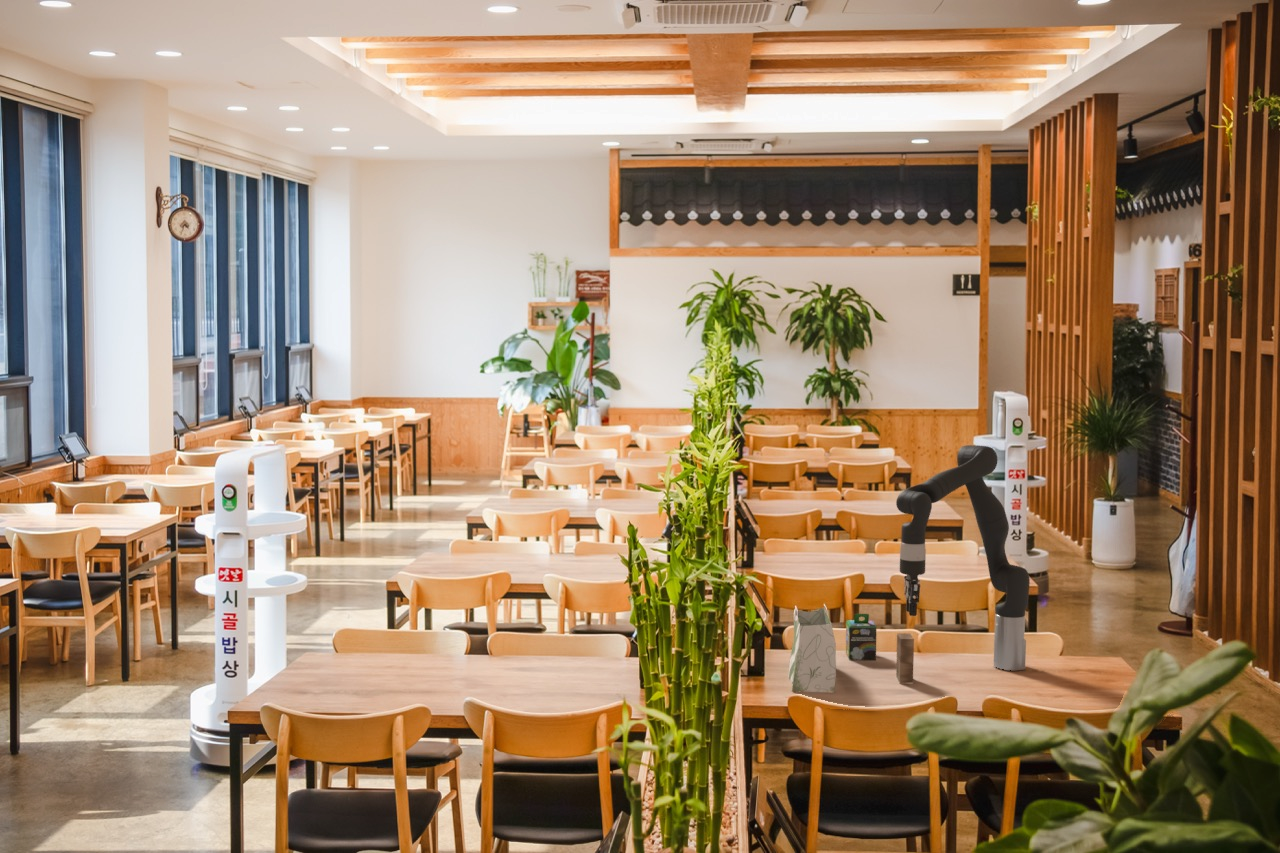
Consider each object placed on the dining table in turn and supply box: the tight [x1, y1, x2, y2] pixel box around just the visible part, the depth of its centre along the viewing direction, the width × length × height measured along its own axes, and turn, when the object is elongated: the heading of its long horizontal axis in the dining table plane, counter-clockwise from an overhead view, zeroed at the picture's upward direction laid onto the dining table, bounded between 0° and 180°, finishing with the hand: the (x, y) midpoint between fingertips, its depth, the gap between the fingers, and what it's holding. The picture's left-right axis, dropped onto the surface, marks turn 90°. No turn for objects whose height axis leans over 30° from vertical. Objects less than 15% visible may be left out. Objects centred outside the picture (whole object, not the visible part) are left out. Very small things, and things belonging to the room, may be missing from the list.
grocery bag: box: [787, 603, 837, 694], centre depth 404 cm, size 32×14×23 cm, turn 175°
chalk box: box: [845, 613, 878, 661], centre depth 430 cm, size 9×9×15 cm
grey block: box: [895, 632, 915, 685], centre depth 402 cm, size 4×7×14 cm, turn 178°
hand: (911, 613), depth 391 cm, fingers open, 4 cm apart
